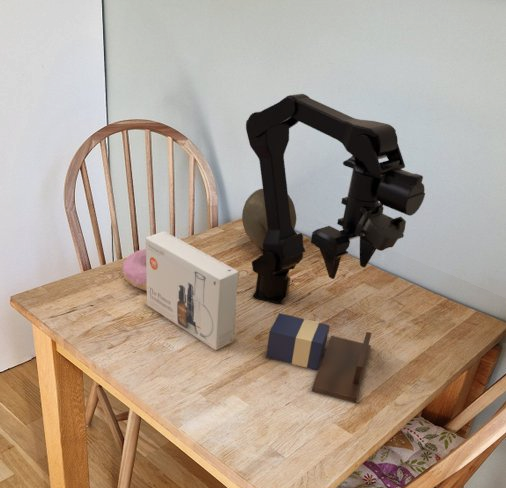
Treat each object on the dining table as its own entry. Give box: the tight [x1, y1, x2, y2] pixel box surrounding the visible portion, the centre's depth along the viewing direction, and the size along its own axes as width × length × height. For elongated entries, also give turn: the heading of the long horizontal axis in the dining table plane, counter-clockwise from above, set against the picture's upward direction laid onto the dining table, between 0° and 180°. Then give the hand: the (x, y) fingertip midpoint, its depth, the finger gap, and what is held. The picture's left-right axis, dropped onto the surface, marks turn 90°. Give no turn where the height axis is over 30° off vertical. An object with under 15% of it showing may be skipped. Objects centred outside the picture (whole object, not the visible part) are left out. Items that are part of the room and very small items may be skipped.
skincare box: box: [145, 230, 240, 351], centre depth 119 cm, size 21×5×16 cm, turn 47°
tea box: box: [265, 312, 331, 371], centre depth 117 cm, size 10×7×6 cm
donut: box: [121, 248, 147, 292], centre depth 136 cm, size 16×15×5 cm
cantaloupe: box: [241, 188, 297, 250], centre depth 154 cm, size 14×14×15 cm
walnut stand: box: [311, 331, 372, 404], centre depth 114 cm, size 8×18×5 cm, turn 163°
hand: (347, 272), depth 119 cm, fingers open, 9 cm apart
